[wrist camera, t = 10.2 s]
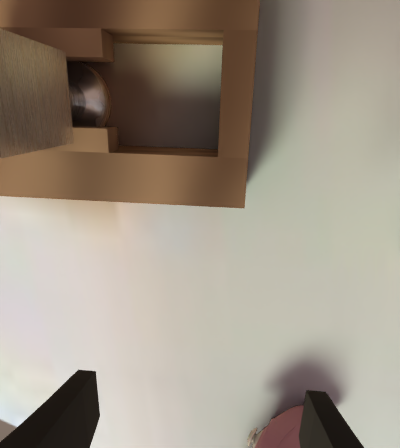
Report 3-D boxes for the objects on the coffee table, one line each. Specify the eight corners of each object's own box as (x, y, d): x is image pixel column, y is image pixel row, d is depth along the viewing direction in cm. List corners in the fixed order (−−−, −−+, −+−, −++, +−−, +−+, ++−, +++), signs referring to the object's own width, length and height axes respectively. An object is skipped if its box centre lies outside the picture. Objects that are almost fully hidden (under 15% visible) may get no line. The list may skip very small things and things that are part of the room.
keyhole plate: (256, -11, 16) (263, -41, 13) (242, 192, 19) (244, 208, 16) (-20, -12, 17) (-77, -40, 14) (11, 181, 20) (-29, 194, 17)
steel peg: (108, 61, 17) (-20, 10, 8) (112, 139, 19) (6, 166, 10) (36, 60, 18) (-162, 9, 9) (45, 136, 19) (-119, 160, 10)
